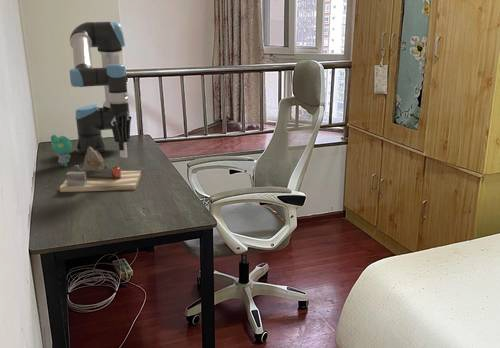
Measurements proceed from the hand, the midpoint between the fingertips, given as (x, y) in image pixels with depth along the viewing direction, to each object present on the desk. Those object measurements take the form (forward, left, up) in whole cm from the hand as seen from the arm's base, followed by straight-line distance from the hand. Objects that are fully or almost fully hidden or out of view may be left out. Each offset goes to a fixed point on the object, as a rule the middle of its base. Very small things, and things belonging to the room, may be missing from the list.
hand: (123, 156), depth 213 cm
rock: (-13, -16, -10) cm, 23 cm away
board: (+5, -9, -10) cm, 14 cm away
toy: (-22, -32, -10) cm, 40 cm away
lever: (+4, -10, -7) cm, 13 cm away
